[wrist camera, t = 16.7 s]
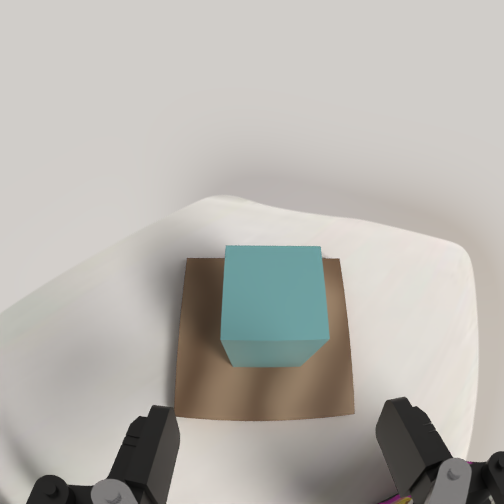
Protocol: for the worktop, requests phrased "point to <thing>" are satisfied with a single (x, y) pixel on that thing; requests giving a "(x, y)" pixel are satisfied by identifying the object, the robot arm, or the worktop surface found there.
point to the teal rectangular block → (273, 305)
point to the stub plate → (257, 378)
